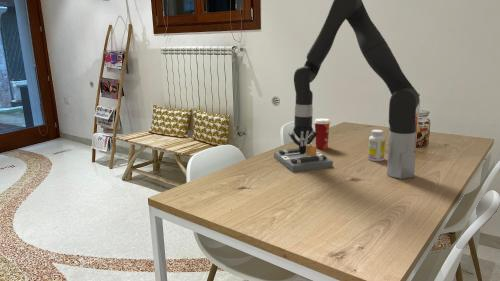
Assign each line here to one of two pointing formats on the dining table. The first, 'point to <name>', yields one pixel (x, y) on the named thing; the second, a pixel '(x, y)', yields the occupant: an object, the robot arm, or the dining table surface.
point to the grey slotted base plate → (300, 160)
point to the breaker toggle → (310, 150)
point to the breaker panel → (286, 161)
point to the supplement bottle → (376, 146)
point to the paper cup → (322, 132)
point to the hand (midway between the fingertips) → (302, 153)
